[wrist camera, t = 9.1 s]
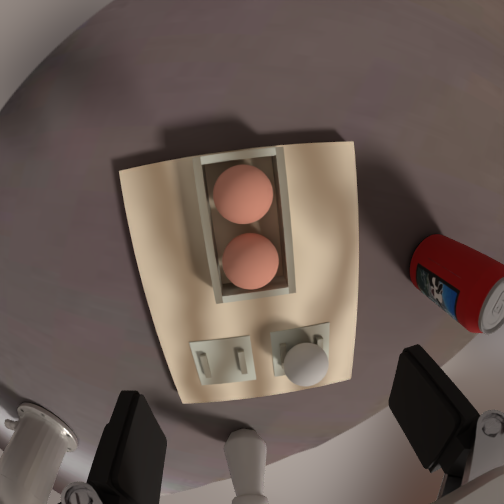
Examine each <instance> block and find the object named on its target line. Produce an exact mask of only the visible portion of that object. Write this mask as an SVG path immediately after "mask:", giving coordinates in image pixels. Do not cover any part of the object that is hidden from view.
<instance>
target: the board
mask: <svg viewBox="0 0 504 504" xmlns="http://www.w3.org/2000/svg"><path fill="white" fill-rule="evenodd" d="M236 165H250V166H254V167H256V168H258V169H260V170H261V171H262V172H263V173H265V175H266V176H267V177H268V179H269V180H270V182H271V185H272V189H273V200H272V204H271V206H270V208H269V210H268V211H267V213H266V214H265V215H264V216H263V217H262V218H260V219H259V220H257V221H255V222H252V223H249V224H238V223H234V222H231V221H229V220H227V219H226V218H224V217H223V216H222V215H221V214H220V213H219V211H218V210H217V208H216V206H215V203H214V199H213V189H214V185H215V183H216V181H217V179H218V177H219V176H220V175H221V174H222V173H223V172H224V171H225V170H227V169H228V168H230V167H233V166H236ZM119 175H120V181H121V187H122V193H123V199H124V204H125V210H126V215H127V220H128V225H129V230H130V234H131V239H132V243H133V248H134V252H135V256H136V260H137V265H138V269H139V272H140V276H141V280H142V284H143V288H144V291H145V295H146V298H147V302H148V305H149V309H150V312H151V315H152V319H153V322H154V325H155V328H156V331H157V335H158V338H159V341H160V344H161V347H162V350H163V352H164V355H165V358H166V361H167V364H168V367H169V369H170V372H171V375H172V377H173V380H174V383H175V385H176V388H177V390H178V393H179V395H180V398H181V400H182V403H183V404H185V403H203V402H216V401H228V400H237V399H246V398H254V397H261V396H268V395H275V394H281V393H287V392H293V391H298V390H304V389H309V388H314V387H318V386H323V385H328V384H332V383H336V382H340V381H345V380H349V379H351V373H352V364H353V354H354V344H355V332H356V318H357V300H358V271H359V225H358V196H357V178H356V164H355V152H354V142H324V143H305V144H291V145H278V146H268V147H258V148H249V149H240V150H232V151H224V152H217V153H210V154H204V155H197V156H191V157H185V158H180V159H174V160H169V161H163V162H158V163H153V164H148V165H144V166H139V167H134V168H130V169H126V170H121V171H119ZM245 233H256V234H260V235H262V236H264V237H266V238H267V239H269V240H270V241H271V242H272V244H273V245H274V246H275V248H276V250H277V253H278V258H279V264H278V269H277V272H276V274H275V276H274V277H273V279H272V280H271V281H270V282H269V283H268V284H266V285H265V286H263V287H261V288H258V289H243V288H240V287H238V286H236V285H234V284H233V283H232V282H231V281H230V280H229V279H228V278H227V276H226V274H225V272H224V270H223V266H222V257H223V253H224V250H225V248H226V246H227V245H228V243H229V242H230V241H231V240H232V239H234V238H235V237H237V236H239V235H241V234H245ZM301 343H313V344H316V345H318V346H319V347H321V348H322V349H323V350H324V351H325V353H326V355H327V357H328V362H329V366H328V370H327V373H326V375H325V377H324V378H323V379H322V380H321V381H320V382H318V383H317V384H315V385H312V386H299V385H296V384H294V383H293V382H291V381H290V380H289V379H288V377H287V376H286V374H285V371H284V359H285V356H286V355H287V353H288V352H289V350H290V349H291V348H293V347H294V346H296V345H298V344H301Z"/></svg>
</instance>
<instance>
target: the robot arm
mask: <svg viewBox="0 0 504 504" xmlns="http://www.w3.org/2000/svg"><path fill="white" fill-rule="evenodd" d="M389 407H390V409H391V411H392V413H393V414H394V416H395V418H396V419H397V421H398V423H399V425H400V426H401V428H402V430H403V432H404V433H405V435H406V437H407V439H408V440H409V442H410V444H411V446H412V447H413V449H414V451H415V453H416V455H417V456H418V458H419V460H420V462H421V463H422V465H423V467H424V468H425V469H429V471H430V473H432V472H434V471H436V470H438V469H440V468H442V469H443V471H444V473H445V474H444V477H443V481H442V484H441V488H440V491H439V494H438V497H437V500H436V501H434V502H432V503H430V504H504V413H502V412H501V411H498V410H488V411H486V412H484V413H483V414H481V416H480V415H479V413H478V412H477V410H476V409H475V408H474V407H473V406H472V404H471V403H470V402H469V401H468V399H467V398H466V397H465V396H464V395H463V394H462V392H461V391H460V390H459V389H458V388H457V386H456V385H455V384H454V383H453V382H452V381H451V379H450V378H449V377H448V376H447V375H446V374H445V373H444V371H443V370H442V369H441V368H440V367H439V366H438V365H437V363H436V362H435V361H434V360H433V359H432V358H431V357H430V356H429V354H428V353H427V352H426V351H425V350H424V349H423V348H422V347H421V346H420V345H418V344H417V345H414V346H411V347H408V348H405V349H404V350H403V353H401V354H400V356H399V361H398V365H397V370H396V374H395V378H394V382H393V386H392V390H391V394H390V397H389ZM17 412H18V416H19V420H18V421H15V422H14V421H12V420H9V419H6V420H5V426H6V428H8V429H11V430H15V432H14V433H13V435H12V437H11V439H10V441H9V443H8V444H7V446H6V448H5V450H4V452H3V454H2V456H1V458H0V504H47V501H48V498H49V496H50V493H51V490H52V487H53V484H54V481H55V479H56V476H57V473H58V471H59V468H60V465H61V463H62V460H63V458H64V455H65V453H66V452H73V451H75V450H76V449H77V446H78V440H77V438H76V436H75V434H74V433H73V432H72V430H71V429H70V428H69V427H68V426H67V425H66V424H65V423H64V422H62V421H61V420H60V419H59V418H57V417H56V416H55V415H53V414H52V413H50V412H49V411H47V410H45V409H43V408H42V407H40V406H37V405H35V404H32V403H22V404H20V406H19V407H18V410H17ZM166 447H167V440H166V437H165V435H164V433H163V431H162V430H161V428H160V426H159V424H158V422H157V420H156V419H155V417H154V415H153V413H152V411H151V409H150V407H149V405H148V403H147V401H146V399H145V397H144V396H143V395H142V394H139V392H138V391H121V393H120V395H119V397H118V400H117V403H116V405H115V408H114V411H113V414H112V416H111V419H110V422H109V423H108V424H107V425H106V426H105V428H104V431H103V433H102V436H101V439H100V442H99V445H98V448H97V451H96V454H95V457H94V460H93V463H92V466H91V470H90V473H89V476H88V479H87V483H84V482H73V483H70V484H69V485H67V486H66V487H65V488H64V489H63V491H62V494H61V502H60V503H58V504H159V499H160V491H161V483H162V475H163V468H164V461H165V454H166Z"/></svg>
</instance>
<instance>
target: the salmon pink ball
mask: <svg viewBox="0 0 504 504" xmlns="http://www.w3.org/2000/svg"><path fill="white" fill-rule="evenodd" d="M278 264H279V258H278V253H277V250H276V248H275V246H274V245H273V244H272V242H271V241H270V240H269V239H267V238H266V237H264V236H262V235H260V234H256V233H245V234H241V235H239V236H237V237H235V238H234V239H232V240H231V241H230V242H229V243H228V245H227V246H226V248H225V250H224V253H223V257H222V266H223V270H224V272H225V274H226V276H227V278H228V279H229V280H230V281H231V282H232V283H233V284H234V285H236V286H238V287H240V288H243V289H258V288H261V287H263V286H265V285H266V284H268V283H269V282H270V281H271V280H272V279H273V277H274V276H275V274H276V272H277V269H278Z"/></svg>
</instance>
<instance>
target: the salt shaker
mask: <svg viewBox="0 0 504 504" xmlns="http://www.w3.org/2000/svg"><path fill="white" fill-rule="evenodd" d="M266 450H267V449H266V444H265V442H264V441H263V439H262V438H261V437H260V436H259V435H258V434H257V433H256V431H255V430H250V429H243V428H242V429H240V430H237V431H234V432H231V434H230V436H229V438H228V440H227V442H226V443H225V445H224V452H225V456H226V460H227V463H228V467H229V471H230V475H231V478H232V482H233V485H234V489H235V492H236V496H237V497H235V498H234V499H233V500H232V504H268V500H267V497H265V496H263V486H264V474H265V463H266Z"/></svg>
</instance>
